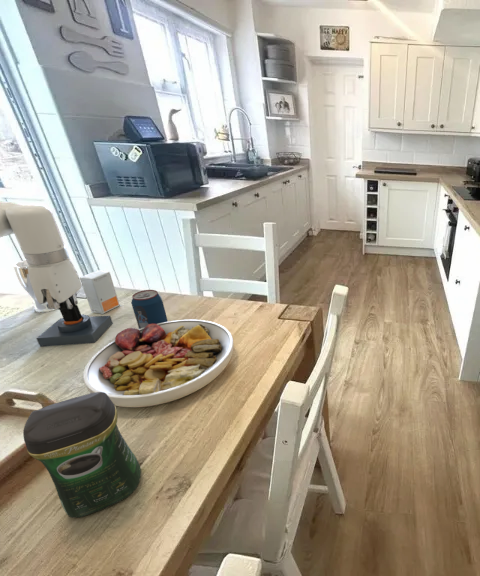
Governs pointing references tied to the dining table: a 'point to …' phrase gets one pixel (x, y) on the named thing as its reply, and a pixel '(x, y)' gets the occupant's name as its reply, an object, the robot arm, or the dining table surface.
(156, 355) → the white plate of food
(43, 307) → the beer glass
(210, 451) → the dining table surface
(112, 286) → the cosmetic box
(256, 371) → the dining table surface
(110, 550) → the dining table surface
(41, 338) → the button base
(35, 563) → the dining table surface
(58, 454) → the coffee jar
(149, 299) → the soda can
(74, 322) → the orange button cap
